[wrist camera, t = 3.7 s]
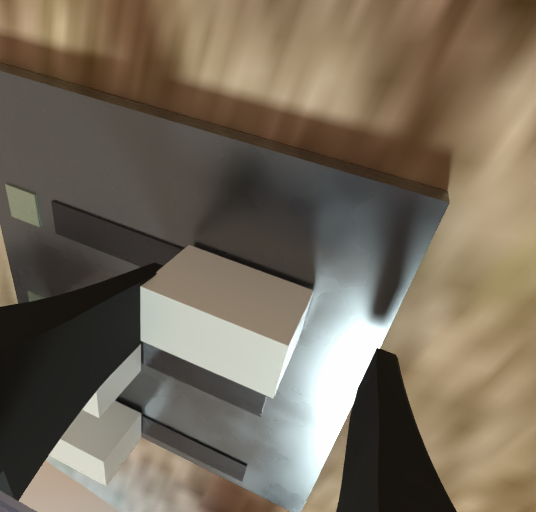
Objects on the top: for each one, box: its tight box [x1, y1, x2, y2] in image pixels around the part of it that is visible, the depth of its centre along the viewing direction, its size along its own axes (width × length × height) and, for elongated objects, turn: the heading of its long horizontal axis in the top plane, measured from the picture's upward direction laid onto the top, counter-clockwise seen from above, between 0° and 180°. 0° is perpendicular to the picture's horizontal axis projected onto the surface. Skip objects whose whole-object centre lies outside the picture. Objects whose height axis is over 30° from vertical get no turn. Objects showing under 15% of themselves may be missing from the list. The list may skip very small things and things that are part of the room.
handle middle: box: [82, 344, 141, 418], centre depth 18 cm, size 5×2×3 cm, turn 79°
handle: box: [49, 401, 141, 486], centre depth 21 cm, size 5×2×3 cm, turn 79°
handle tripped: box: [140, 245, 314, 398], centre depth 13 cm, size 5×2×3 cm, turn 79°
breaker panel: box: [0, 63, 449, 512], centre depth 18 cm, size 18×19×1 cm
